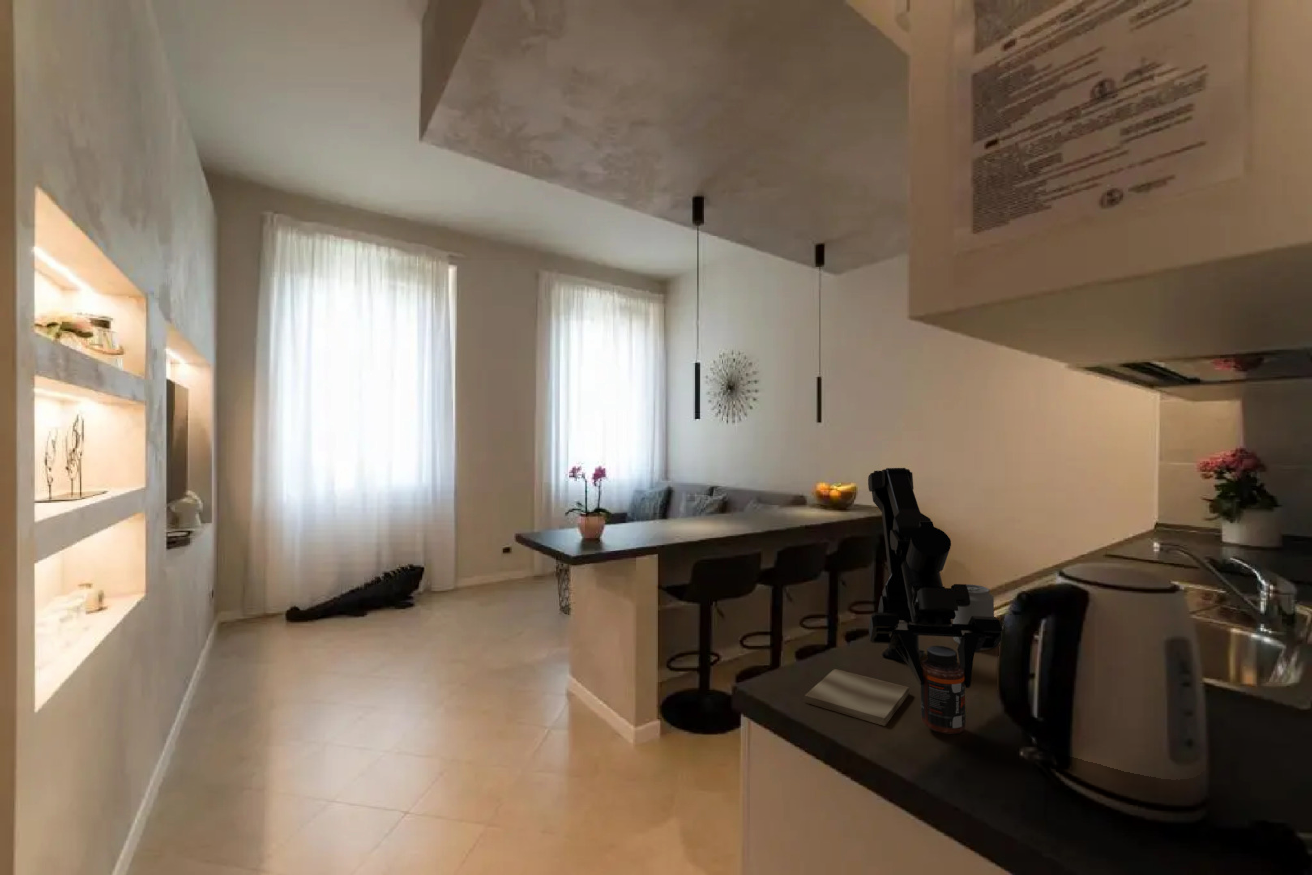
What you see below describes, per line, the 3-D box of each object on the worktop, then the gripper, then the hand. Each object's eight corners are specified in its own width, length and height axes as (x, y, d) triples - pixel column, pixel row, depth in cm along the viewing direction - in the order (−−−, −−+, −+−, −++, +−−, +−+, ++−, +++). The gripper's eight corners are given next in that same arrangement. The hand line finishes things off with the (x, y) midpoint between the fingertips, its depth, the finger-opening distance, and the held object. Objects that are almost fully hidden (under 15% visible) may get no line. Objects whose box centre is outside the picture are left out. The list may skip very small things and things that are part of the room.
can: (947, 637, 122) (946, 582, 122) (985, 638, 121) (983, 582, 121) (961, 651, 114) (960, 592, 114) (1001, 652, 113) (1000, 592, 113)
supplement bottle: (971, 737, 81) (970, 659, 81) (927, 734, 82) (925, 657, 82) (958, 716, 87) (957, 643, 87) (916, 713, 88) (915, 641, 88)
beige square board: (834, 675, 105) (834, 668, 105) (908, 694, 97) (908, 687, 97) (804, 702, 95) (804, 695, 95) (884, 726, 87) (884, 718, 87)
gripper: (869, 562, 90) (883, 659, 80) (999, 565, 86) (1032, 667, 76) (863, 596, 98) (875, 689, 87) (981, 600, 94) (1009, 697, 84)
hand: (945, 685), depth 83 cm, fingers closed on supplement bottle, 6 cm apart
